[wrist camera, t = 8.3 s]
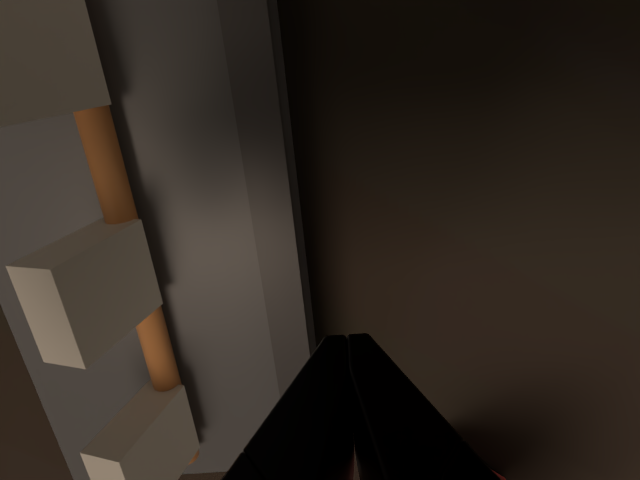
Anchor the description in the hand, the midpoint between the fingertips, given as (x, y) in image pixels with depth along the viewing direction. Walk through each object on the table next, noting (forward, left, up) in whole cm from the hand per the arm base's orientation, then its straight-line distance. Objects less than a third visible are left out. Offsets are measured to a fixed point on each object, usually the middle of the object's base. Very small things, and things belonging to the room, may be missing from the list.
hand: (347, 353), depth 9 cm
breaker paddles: (+6, 0, -5) cm, 8 cm away
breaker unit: (+6, 0, -8) cm, 10 cm away
